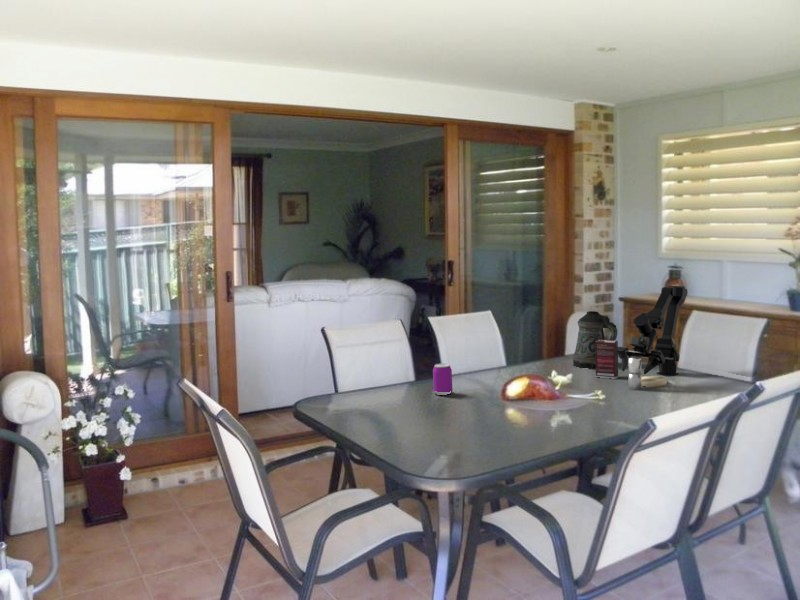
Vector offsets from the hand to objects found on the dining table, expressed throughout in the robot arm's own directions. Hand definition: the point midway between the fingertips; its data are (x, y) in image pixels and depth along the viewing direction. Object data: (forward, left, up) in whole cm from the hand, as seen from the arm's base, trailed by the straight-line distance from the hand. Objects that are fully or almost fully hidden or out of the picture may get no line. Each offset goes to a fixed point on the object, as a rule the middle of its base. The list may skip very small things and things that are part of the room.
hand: (633, 372), depth 291 cm
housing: (0, +1, -7) cm, 7 cm away
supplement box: (-21, +6, -7) cm, 23 cm away
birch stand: (-2, +12, -7) cm, 14 cm away
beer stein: (-42, +18, -7) cm, 47 cm away
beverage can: (-39, -65, -7) cm, 76 cm away
